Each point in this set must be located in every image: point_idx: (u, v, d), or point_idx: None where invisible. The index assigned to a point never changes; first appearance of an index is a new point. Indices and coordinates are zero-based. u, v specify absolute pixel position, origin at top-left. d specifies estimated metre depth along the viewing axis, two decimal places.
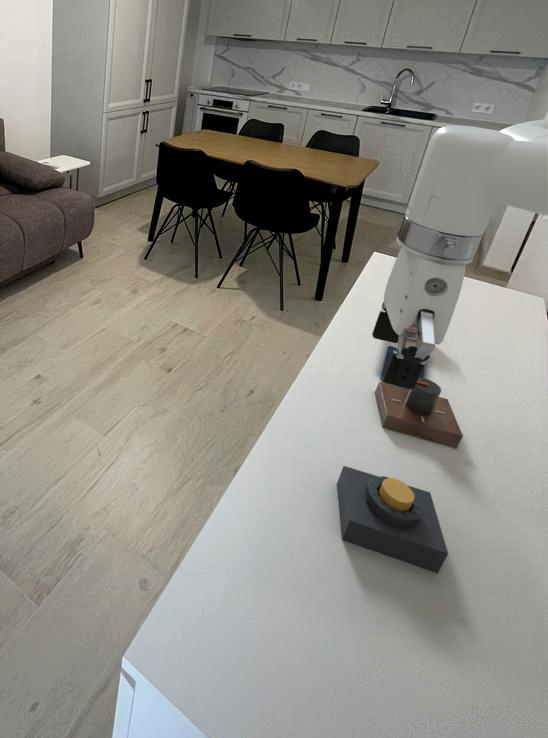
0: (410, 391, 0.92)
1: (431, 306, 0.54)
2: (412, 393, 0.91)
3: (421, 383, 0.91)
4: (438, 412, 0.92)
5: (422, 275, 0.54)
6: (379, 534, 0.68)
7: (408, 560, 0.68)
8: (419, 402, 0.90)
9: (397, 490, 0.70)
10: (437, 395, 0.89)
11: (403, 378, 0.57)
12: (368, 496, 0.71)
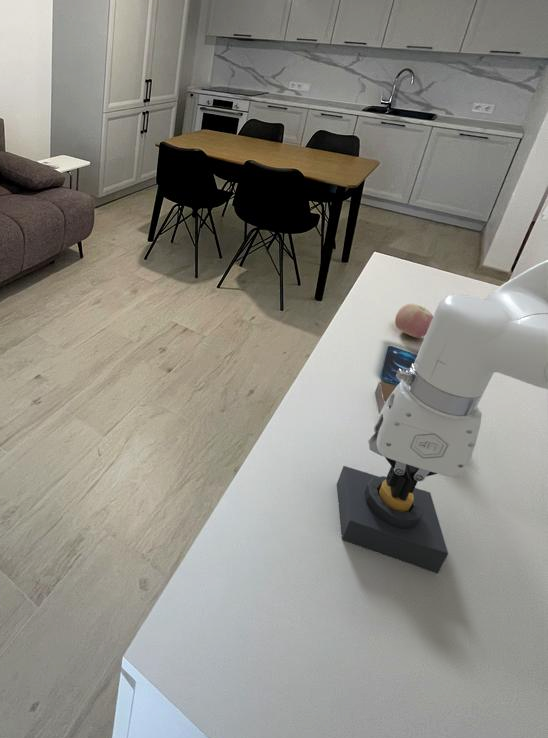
0: None
1: (384, 414, 0.66)
2: None
3: None
4: None
5: (394, 389, 0.66)
6: (379, 534, 0.68)
7: (408, 560, 0.68)
8: None
9: None
10: None
11: (389, 479, 0.70)
12: (368, 496, 0.71)
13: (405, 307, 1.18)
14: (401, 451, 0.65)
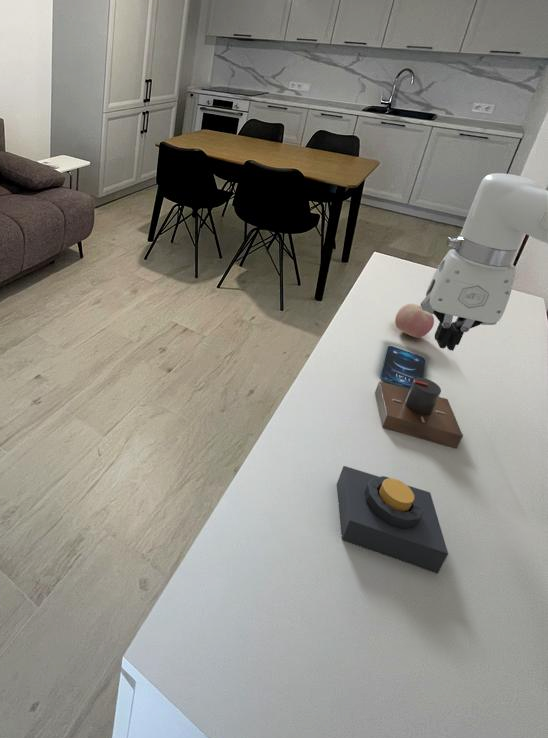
0: (410, 391, 0.92)
1: (435, 278, 0.83)
2: (412, 393, 0.91)
3: (421, 383, 0.91)
4: (438, 412, 0.92)
5: None
6: (379, 534, 0.68)
7: (408, 560, 0.68)
8: (419, 402, 0.90)
9: (397, 491, 0.70)
10: (437, 395, 0.89)
11: (437, 335, 0.87)
12: (368, 496, 0.71)
13: (405, 307, 1.18)
14: (450, 304, 0.81)
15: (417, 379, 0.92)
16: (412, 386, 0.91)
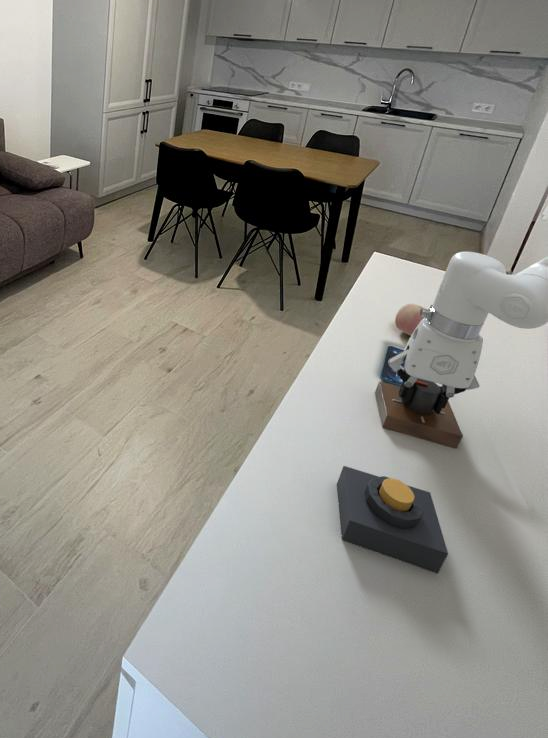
0: None
1: (410, 344, 0.89)
2: None
3: (421, 383, 0.91)
4: None
5: None
6: (379, 534, 0.68)
7: (408, 560, 0.68)
8: (419, 402, 0.90)
9: (397, 491, 0.70)
10: (437, 395, 0.89)
11: (401, 392, 0.93)
12: (368, 496, 0.71)
13: (405, 307, 1.18)
14: (423, 370, 0.87)
15: (417, 379, 0.92)
16: None
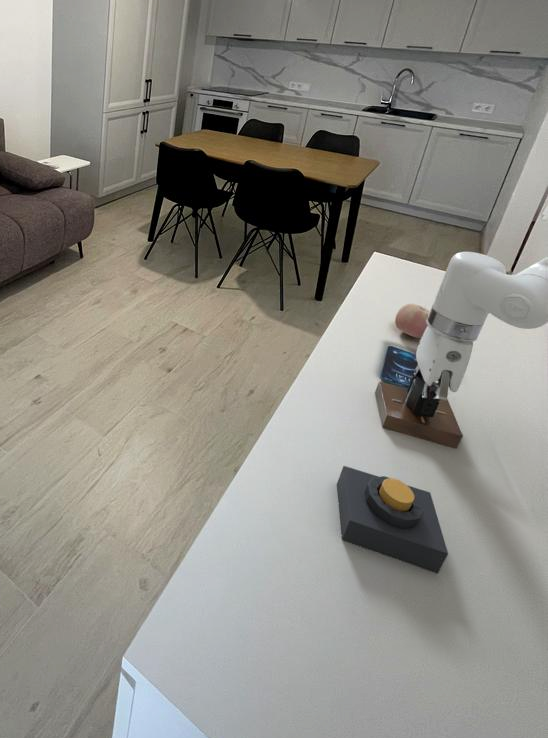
0: None
1: (450, 368, 0.83)
2: None
3: (430, 388, 0.89)
4: (438, 412, 0.92)
5: (444, 348, 0.83)
6: (379, 534, 0.68)
7: (408, 560, 0.68)
8: None
9: (397, 491, 0.70)
10: None
11: (426, 410, 0.89)
12: (368, 496, 0.71)
13: (405, 307, 1.18)
14: None
15: (421, 388, 0.90)
16: None
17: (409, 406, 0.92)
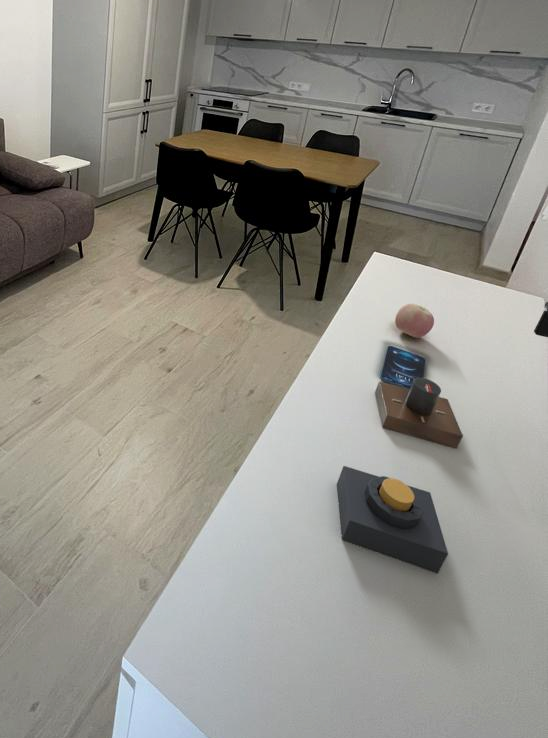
0: (426, 402, 0.89)
1: None
2: (431, 402, 0.89)
3: (430, 388, 0.89)
4: (438, 412, 0.92)
5: None
6: (379, 534, 0.68)
7: (408, 560, 0.68)
8: None
9: (397, 491, 0.70)
10: None
11: None
12: (368, 496, 0.71)
13: (405, 307, 1.18)
14: None
15: (421, 388, 0.90)
16: (429, 397, 0.89)
17: (409, 406, 0.92)
